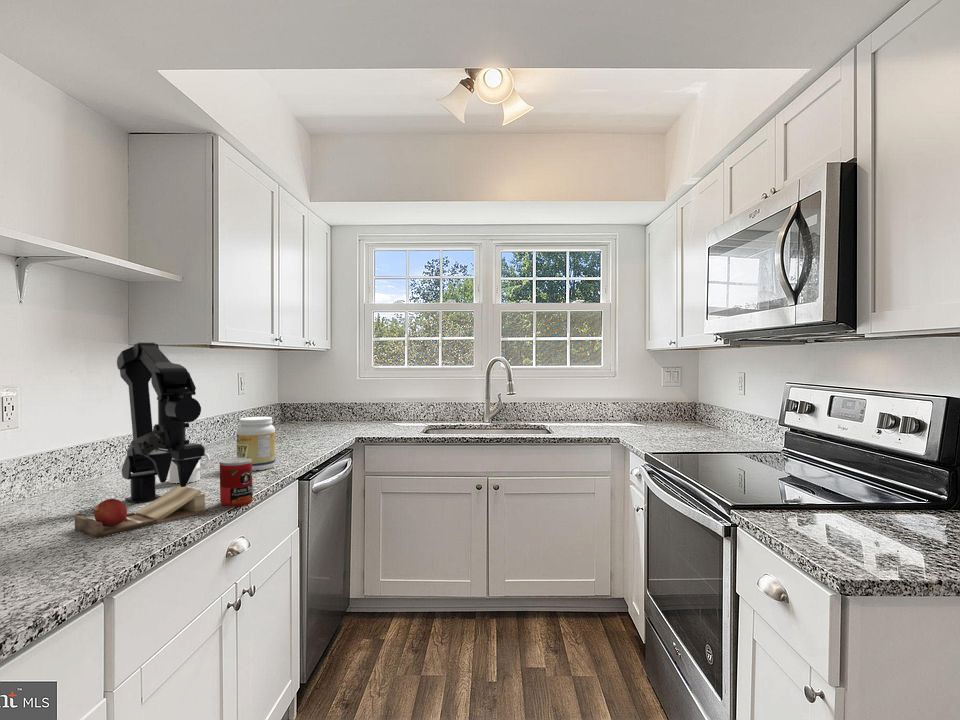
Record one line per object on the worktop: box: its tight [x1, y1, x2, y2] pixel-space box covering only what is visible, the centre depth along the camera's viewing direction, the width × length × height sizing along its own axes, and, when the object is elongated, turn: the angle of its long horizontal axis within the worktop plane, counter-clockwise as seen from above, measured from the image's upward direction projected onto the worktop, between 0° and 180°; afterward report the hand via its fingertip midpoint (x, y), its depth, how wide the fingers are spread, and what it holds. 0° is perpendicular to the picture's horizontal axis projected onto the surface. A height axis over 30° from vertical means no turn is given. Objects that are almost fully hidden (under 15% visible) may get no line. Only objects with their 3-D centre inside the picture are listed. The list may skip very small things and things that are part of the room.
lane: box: [74, 508, 205, 539], centre depth 130 cm, size 11×23×3 cm, turn 146°
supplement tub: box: [236, 416, 276, 472], centre depth 192 cm, size 12×12×17 cm
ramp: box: [135, 484, 206, 520], centre depth 136 cm, size 10×11×6 cm
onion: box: [93, 498, 128, 527], centre depth 124 cm, size 6×6×8 cm
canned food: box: [219, 457, 254, 508], centre depth 146 cm, size 8×8×11 cm
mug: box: [169, 452, 211, 485], centre depth 172 cm, size 8×12×10 cm
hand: (172, 484), depth 136 cm, fingers open, 9 cm apart
